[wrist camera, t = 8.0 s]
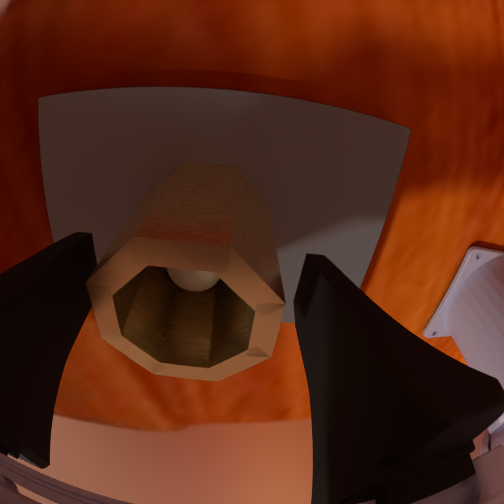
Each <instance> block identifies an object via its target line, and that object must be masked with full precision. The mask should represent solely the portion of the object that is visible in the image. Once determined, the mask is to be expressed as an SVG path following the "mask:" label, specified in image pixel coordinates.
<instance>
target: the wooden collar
mask: <svg viewBox="0 0 504 504" xmlns="http://www.w3.org/2000/svg"><path fill="white" fill-rule="evenodd" d="M167 268H177V269H186V270H196V271H207V272H214V273H215V274H216V275H217V276H218V277H219V278H220V279H219V280H218V282H217V283H216V284H215V285H213V286H212V287H210V288H209V289H206V290H203V291H196V292H195V291H188V290H185V289H183V288H181V287H179V286H178V285H176V284H175V283H174V282H173V280H172V279H171V278H170V276H169V274H168V271H167ZM86 285H87V289H88V293H89V296H90V300H91V304H92V308H93V311H94V315H95V318H96V321H97V325H98V328H99V331H100V334H101V337H102V338H103V339H104V340H105V341H107V342H108V343H109V344H111V345H112V346H113V347H115V348H116V349H118V350H119V351H120V352H122V353H123V354H125V355H126V356H127V357H129V358H130V359H132V360H133V361H135V362H136V363H138V364H139V365H141V366H142V367H144V368H145V369H147V370H148V371H150V372H151V373H153V374H158V375H165V376H172V377H180V378H189V379H198V380H208V381H219V380H221V379H224V378H226V377H228V376H231V375H233V374H235V373H238V372H240V371H242V370H244V369H247V368H249V367H251V366H253V365H255V364H258V363H260V362H262V361H264V360H266V359H268V358H270V357H271V356H272V352H273V349H274V346H275V342H276V339H277V335H278V332H279V328H280V325H281V321H282V318H283V314H284V310H285V307H286V301H285V295H284V289H283V283H282V278H281V272H280V267H279V261H278V256H277V250H276V245H275V240H274V234H273V229H272V224H271V218H270V213H269V208H268V204H267V203H266V202H265V201H264V199H263V198H262V197H261V196H260V194H259V193H258V192H257V191H256V190H255V188H254V187H253V186H252V185H251V184H250V182H249V181H248V180H247V179H246V178H245V176H244V175H243V174H242V173H241V172H240V170H239V169H238V168H237V167H236V166H229V165H218V164H207V163H194V162H182V163H181V164H180V165H179V166H178V167H177V168H176V169H174V170H173V171H172V172H171V173H170V174H169V175H168V176H166V177H165V178H164V179H163V180H162V181H161V182H160V183H159V184H158V185H157V186H155V187H154V188H153V189H152V190H151V191H150V192H149V193H148V194H147V195H146V197H145V198H144V199H143V200H142V202H141V203H140V204H139V206H138V207H137V208H136V210H135V211H134V212H133V214H132V215H131V217H130V218H129V219H128V221H127V222H126V223H125V225H124V226H123V228H122V229H121V230H120V232H119V233H118V235H117V236H116V238H115V239H114V241H113V242H112V243H111V245H110V246H109V248H108V249H107V251H106V252H105V254H104V255H103V257H102V258H101V260H100V262H99V263H98V265H97V266H96V268H95V269H94V271H93V272H92V274H91V276H90V277H89V279H88V280H87V282H86Z"/></svg>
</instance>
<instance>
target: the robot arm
mask: <svg viewBox="0 0 504 504" xmlns="http://www.w3.org/2000/svg"><path fill="white" fill-rule="evenodd" d="M96 266H97V260H96V254H95V248H94V242H93V236H92V233H86V232H76V233H73V234H71V235H68V236H66V237H64V238H63V239H61V240H59V241H57V242H55V243H53V244H52V245H50V246H48V247H46V248H45V249H43V250H41V251H40V252H38V253H36V254H35V255H33V256H31V257H30V258H28V259H26V260H24V261H22V262H21V263H19V264H17V265H16V266H14V267H12V268H10V269H9V270H7V271H5V272H3V273H1V274H0V504H41V503H39V502H36V501H34V500H32V499H30V498H28V497H26V496H24V495H22V494H20V493H19V491H18V489H17V486H16V485H15V483H16V484H18V485H20V486H22V487H24V488H26V489H28V490H30V491H32V492H34V493H36V494H38V495H40V496H42V497H45V498H47V499H49V500H51V501H54V502H56V503H58V504H132V503H128V502H124V501H120V500H116V499H112V498H109V497H105V496H102V495H98V494H95V493H92V492H89V491H86V490H83V489H80V488H77V487H74V486H71V485H69V484H66V483H64V482H61V481H58V480H56V479H54V478H51V477H49V476H46V475H44V474H42V473H40V472H37V471H35V470H33V469H31V468H29V467H27V466H25V465H23V464H21V463H19V462H17V461H15V460H13V459H11V458H9V457H8V456H7V455H8V454H9V455H10V456H12V457H14V458H16V459H18V458H20V459H22V460H24V461H26V462H28V463H30V464H33V465H34V466H36V467H39V468H41V469H44V468H46V467H48V466H49V465H50V439H51V428H52V419H53V413H54V407H55V402H56V397H57V393H58V388H59V384H60V380H61V377H62V373H63V370H64V366H65V363H66V361H67V358H68V355H69V353H70V351H71V349H72V346H73V344H74V342H75V340H76V338H77V336H78V334H79V331H80V329H81V327H82V325H83V323H84V321H85V319H86V317H87V315H88V313H89V311H90V309H91V307H92V304H91V300H90V296H89V293H88V289H87V285H86V282H87V280H88V279H89V277H90V276H91V274H92V272H93V271H94V269H95V268H96ZM293 304H294V317H295V327H296V331H297V336H298V341H299V345H300V350H301V354H302V359H303V363H304V368H305V373H306V377H307V382H308V388H309V395H310V406H311V419H312V436H313V484H312V501H311V504H504V252H503V251H498V250H492V249H487V248H482V247H477V246H472V247H470V248H469V249H468V251H467V253H466V255H465V257H464V259H463V262H462V264H461V266H460V268H459V270H458V272H457V274H456V276H455V278H454V280H453V281H452V283H451V285H450V287H449V289H448V291H447V293H446V294H445V296H444V298H443V300H442V301H441V303H440V305H439V307H438V308H437V310H436V312H435V313H434V315H433V317H432V318H431V320H430V322H429V323H428V325H427V327H426V328H425V330H424V332H423V334H424V336H425V337H426V338H430V337H443V336H452V338H453V340H454V341H455V343H456V345H457V346H458V348H459V350H460V352H461V354H462V355H463V357H464V359H465V361H466V363H467V364H468V366H467V365H465V364H463V363H461V362H459V361H457V360H455V359H453V358H452V357H450V356H448V355H446V354H444V353H443V352H441V351H439V350H437V349H436V348H434V347H433V346H431V345H430V344H428V343H427V342H425V341H423V340H422V339H420V338H419V337H417V336H416V335H414V334H413V333H412V332H410V331H409V330H408V329H406V328H405V327H404V326H402V325H401V324H400V323H398V322H397V321H396V320H394V319H393V318H392V317H391V316H389V315H388V314H387V313H386V312H385V311H384V310H382V309H381V308H380V307H379V306H378V305H377V304H376V303H374V302H373V301H372V300H371V299H370V298H369V297H368V296H367V295H366V294H365V293H364V292H362V291H361V290H360V289H359V288H358V287H357V286H356V285H355V284H354V283H353V282H352V281H351V280H350V279H349V278H348V277H347V276H346V275H345V274H344V273H343V272H342V271H341V270H340V269H339V268H338V267H337V266H336V265H335V264H334V263H333V262H332V261H330V260H329V259H328V258H327V257H326V256H325V255H319V254H309V253H306V256H305V260H304V264H303V268H302V271H301V275H300V279H299V282H298V286H297V289H296V293H295V297H294V300H293ZM484 430H486V431H485V433H484V435H483V438H482V444H481V453H480V456H479V457H477V458H475V459H474V460H472V459H471V457H470V453H471V452H473V451H474V450H475V446H474V443H473V439H474V438H475V437H477V436H478V435H479V434H481V433H482V432H483V431H484ZM14 482H15V483H14Z"/></svg>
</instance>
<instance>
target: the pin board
mask: <svg viewBox="0 0 504 504" xmlns="http://www.w3.org/2000/svg"><path fill="white" fill-rule="evenodd" d="M410 132H411V129H410V128H407V127H405V126H402V125H399V124H396V123H393V122H390V121H387V120H384V119H380V118H377V117H374V116H370V115H366V114H363V113H359V112H355V111H351V110H347V109H343V108H339V107H335V106H330V105H326V104H321V103H316V102H311V101H306V100H301V99H295V98H290V97H284V96H277V95H271V94H263V93H256V92H247V91H238V90H227V89H215V88H199V87H123V88H107V89H95V90H85V91H77V92H69V93H62V94H55V95H50V96H45V97H40V98H39V141H40V156H41V167H42V176H43V184H44V192H45V199H46V205H47V211H48V217H49V222H50V227H51V232H52V237H53V242H54V243H55V242H57V241H59V240H61V239H63V238H64V237H66V236H68V235H71V234H73V233H76V232H86V233H92V236H93V242H94V248H95V254H96V260H97V265H98V263H99V262H100V260H101V258H102V257H103V255H104V254H105V252H106V251H107V249H108V248H109V246H110V245H111V243H112V242H113V241H114V239H115V238H116V236H117V235H118V233H119V232H120V230H121V229H122V228H123V226H124V225H125V223H126V222H127V221H128V219H129V218H130V217H131V215H132V214H133V212H134V211H135V210H136V208H137V207H138V206H139V204H140V203H141V202H142V200H143V199H144V198H145V197H146V195H147V194H148V193H149V192H150V191H151V190H152V189H153V188H154V187H155V186H157V185H158V184H159V183H160V182H161V181H162V180H163V179H164V178H165V177H166V176H168V175H169V174H170V173H171V172H172V171H173V170H174V169H176V168H177V167H178V166H179V165H180V164H181V163H182V162H194V163H207V164H218V165H229V166H236V167H237V168H238V169H239V170H240V172H241V173H242V174H243V175H244V176H245V178H246V179H247V180H248V181H249V182H250V184H251V185H252V186H253V187H254V188H255V190H256V191H257V192H258V193H259V194H260V196H261V197H262V198H263V199H264V201H265V202H266V203H267V204H268V208H269V213H270V218H271V224H272V229H273V234H274V240H275V245H276V250H277V256H278V261H279V267H280V272H281V278H282V283H283V289H284V295H285V301H286V307H285V310H284V314H283V318H282V321H281V322H292V323H295V317H294V304H293V300H294V297H295V293H296V289H297V286H298V282H299V279H300V275H301V271H302V268H303V264H304V260H305V256H306V253H309V254H319V255H325V256H326V257H327V258H328V259H329V260H330V261H332V262H333V263H334V264H335V265H336V266H337V267H338V268H339V269H340V270H341V271H342V272H343V273H344V274H345V275H346V276H347V277H348V278H349V279H350V280H351V281H352V282H353V283H354V284H355V285H356V286H357V287H358V288H359V289H360V286H361V284H362V281H363V279H364V277H365V274H366V271H367V269H368V266H369V264H370V261H371V259H372V256H373V253H374V251H375V248H376V245H377V242H378V240H379V237H380V234H381V231H382V228H383V225H384V222H385V219H386V216H387V213H388V210H389V207H390V204H391V201H392V198H393V195H394V191H395V188H396V185H397V181H398V178H399V174H400V171H401V167H402V164H403V160H404V156H405V152H406V148H407V144H408V140H409V136H410ZM167 271H168V274H169V276H170V278H171V279H172V280H173V282H174V283H175V284H176V285H178V286H179V287H181V288H183V289H185V290H188V291H195V292H196V291H203V290H206V289H209V288H210V287H212V286H213V285H215V284H216V283H217V282H218V280H219V279H220V278H219V277H218V276H217V275H216V274H215V273H214V272H207V271H196V270H186V269H177V268H167Z"/></svg>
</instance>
